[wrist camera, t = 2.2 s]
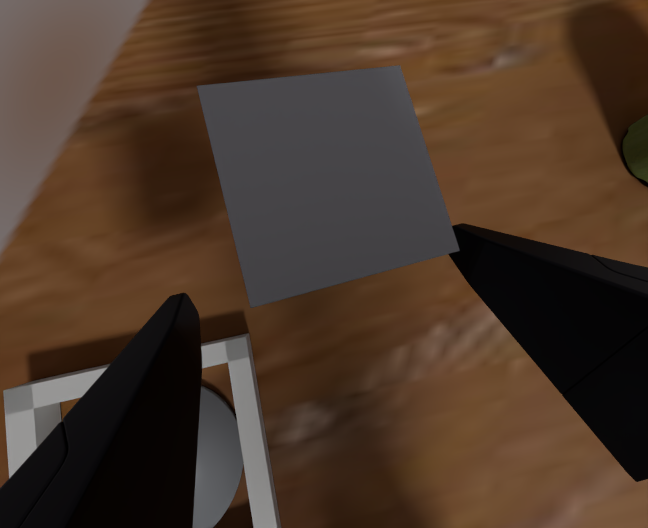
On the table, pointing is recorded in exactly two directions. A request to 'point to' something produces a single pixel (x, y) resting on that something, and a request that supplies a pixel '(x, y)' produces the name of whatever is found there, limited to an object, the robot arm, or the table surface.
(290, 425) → the table surface
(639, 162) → the plant pot
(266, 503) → the frame
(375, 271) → the block
